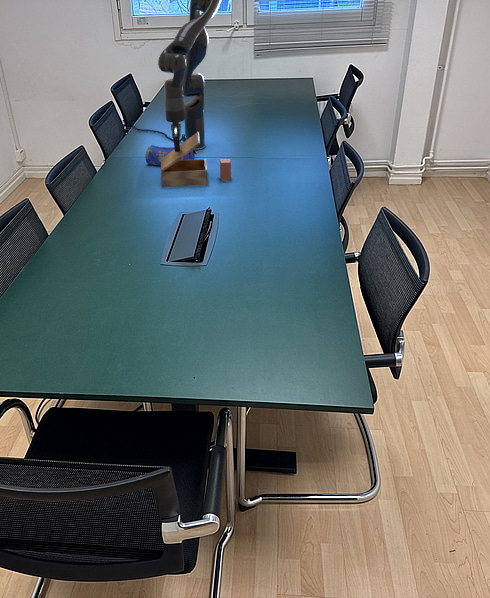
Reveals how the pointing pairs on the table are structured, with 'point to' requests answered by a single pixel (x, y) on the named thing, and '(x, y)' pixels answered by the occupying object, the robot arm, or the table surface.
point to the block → (225, 169)
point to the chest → (185, 173)
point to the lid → (184, 149)
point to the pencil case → (163, 154)
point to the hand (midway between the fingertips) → (177, 151)
